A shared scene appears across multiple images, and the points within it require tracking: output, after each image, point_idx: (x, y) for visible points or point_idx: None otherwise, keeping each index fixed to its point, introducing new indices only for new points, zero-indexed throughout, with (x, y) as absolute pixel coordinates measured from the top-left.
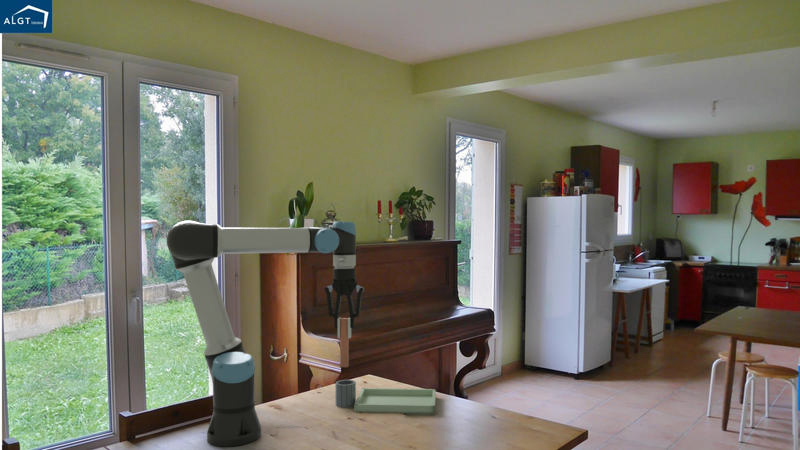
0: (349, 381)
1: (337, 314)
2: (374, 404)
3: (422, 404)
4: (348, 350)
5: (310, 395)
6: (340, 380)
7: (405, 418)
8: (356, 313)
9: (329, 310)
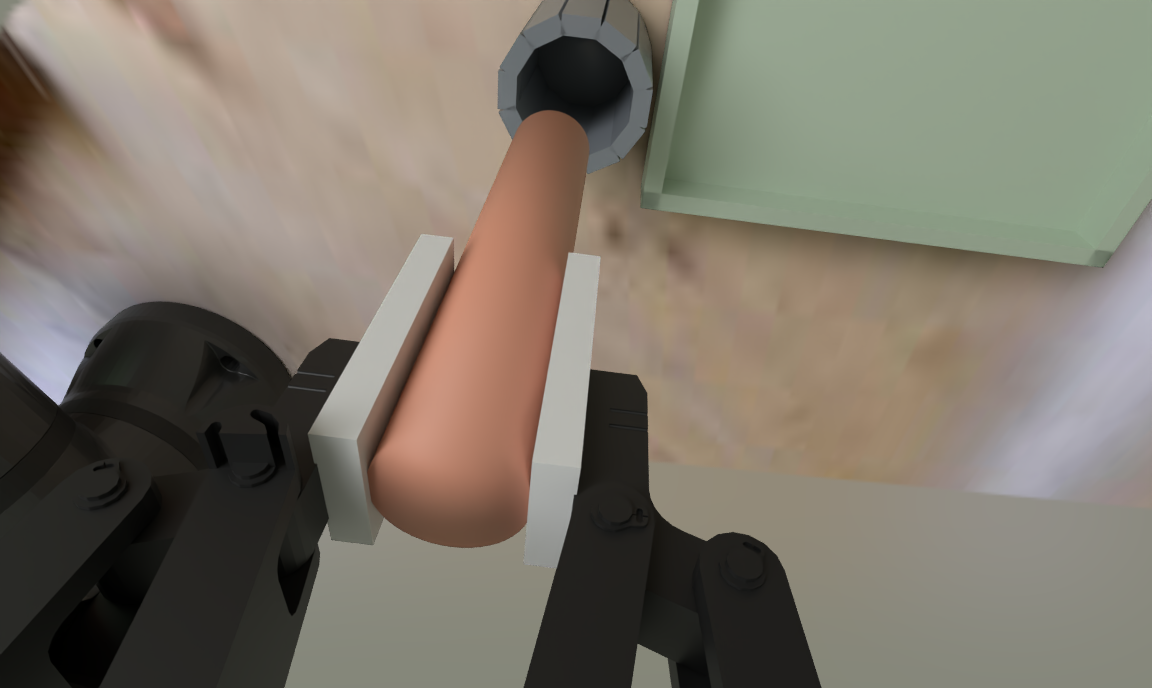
0: (602, 43)
1: (294, 606)
2: (757, 215)
3: (1086, 107)
4: (577, 224)
5: None
6: (526, 36)
7: (898, 263)
8: (693, 684)
9: (71, 670)
